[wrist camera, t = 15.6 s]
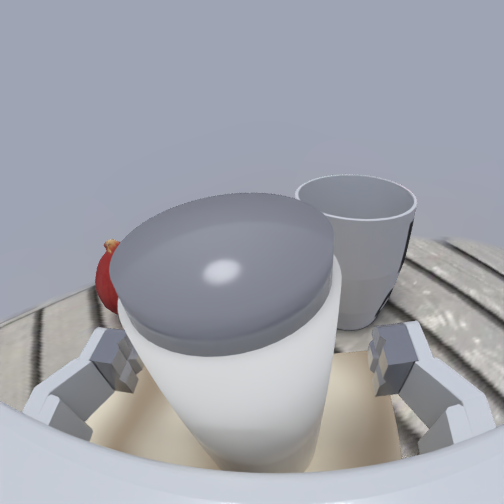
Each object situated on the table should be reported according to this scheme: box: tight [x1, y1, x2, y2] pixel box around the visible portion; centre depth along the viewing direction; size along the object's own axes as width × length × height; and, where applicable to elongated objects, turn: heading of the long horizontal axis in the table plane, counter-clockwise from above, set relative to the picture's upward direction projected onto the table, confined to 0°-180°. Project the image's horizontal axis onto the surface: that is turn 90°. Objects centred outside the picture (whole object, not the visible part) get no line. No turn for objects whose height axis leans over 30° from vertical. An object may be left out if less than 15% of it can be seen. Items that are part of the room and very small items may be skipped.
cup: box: [295, 175, 417, 330], centre depth 20 cm, size 8×8×10 cm
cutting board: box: [86, 351, 402, 472], centre depth 13 cm, size 18×12×2 cm, turn 85°
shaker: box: [109, 193, 342, 473], centre depth 9 cm, size 5×5×12 cm
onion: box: [95, 239, 120, 315], centre depth 23 cm, size 6×6×8 cm
